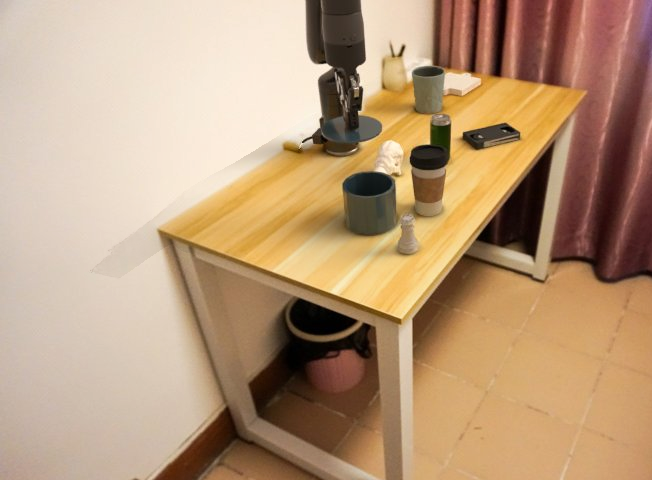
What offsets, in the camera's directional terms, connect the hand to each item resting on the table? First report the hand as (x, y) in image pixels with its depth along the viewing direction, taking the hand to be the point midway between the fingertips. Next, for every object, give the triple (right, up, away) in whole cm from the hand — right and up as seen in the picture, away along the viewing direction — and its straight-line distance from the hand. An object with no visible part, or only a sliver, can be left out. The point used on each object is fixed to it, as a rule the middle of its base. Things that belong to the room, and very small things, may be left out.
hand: (351, 124), depth 109 cm
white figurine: (+6, -7, +27) cm, 29 cm away
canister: (+3, -19, +12) cm, 23 cm away
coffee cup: (+16, -16, +15) cm, 28 cm away
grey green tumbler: (+19, +20, +62) cm, 68 cm away
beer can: (+21, -1, +34) cm, 40 cm away
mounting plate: (+29, +32, +77) cm, 88 cm away
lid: (0, -1, +1) cm, 1 cm away
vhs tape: (+36, +7, +44) cm, 57 cm away
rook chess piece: (+12, -25, +4) cm, 28 cm away
